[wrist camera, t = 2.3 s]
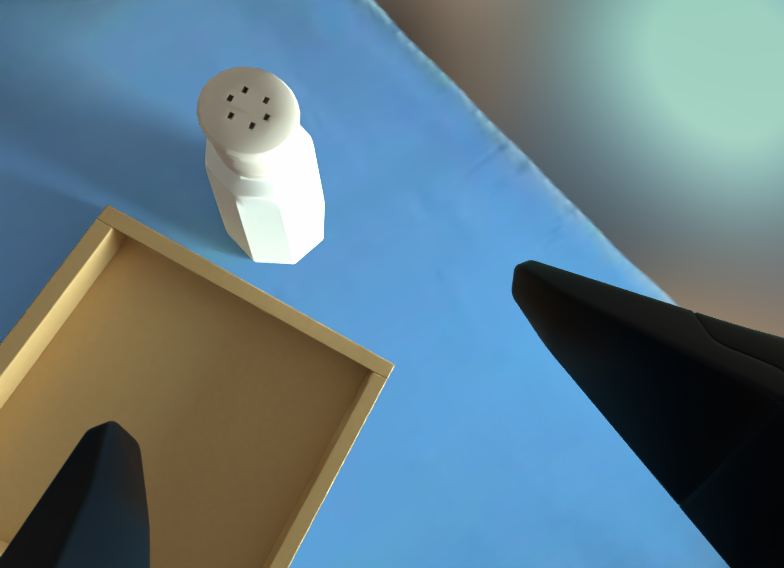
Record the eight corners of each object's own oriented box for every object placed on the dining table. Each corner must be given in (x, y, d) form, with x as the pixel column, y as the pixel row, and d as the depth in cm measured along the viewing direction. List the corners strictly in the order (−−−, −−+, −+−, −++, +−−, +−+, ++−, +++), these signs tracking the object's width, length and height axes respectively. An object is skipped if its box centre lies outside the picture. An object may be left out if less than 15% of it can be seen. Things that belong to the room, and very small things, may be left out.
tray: (233, 648, 19) (223, 692, 17) (-86, 509, 17) (-148, 536, 15) (385, 361, 22) (395, 365, 20) (130, 219, 20) (107, 204, 18)
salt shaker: (343, 198, 23) (374, 77, 12) (301, 283, 22) (295, 234, 11) (253, 154, 22) (202, -16, 11) (205, 240, 21) (99, 142, 10)
